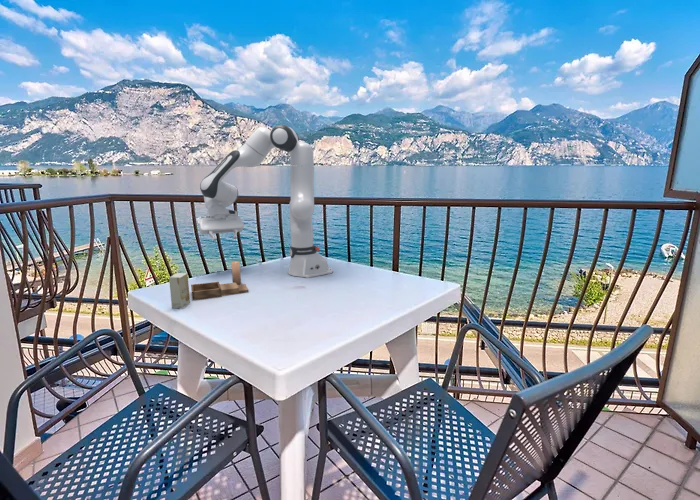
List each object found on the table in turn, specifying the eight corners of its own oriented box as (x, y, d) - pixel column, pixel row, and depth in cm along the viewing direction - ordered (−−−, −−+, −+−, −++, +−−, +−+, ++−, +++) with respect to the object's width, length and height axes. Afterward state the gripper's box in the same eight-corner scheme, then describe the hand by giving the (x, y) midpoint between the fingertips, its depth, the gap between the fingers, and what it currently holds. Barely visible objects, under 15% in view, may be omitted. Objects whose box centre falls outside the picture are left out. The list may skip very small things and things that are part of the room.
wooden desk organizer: (245, 286, 158) (244, 278, 157) (249, 293, 149) (248, 285, 148) (191, 292, 149) (191, 284, 148) (192, 300, 140) (191, 292, 139)
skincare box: (182, 308, 132) (179, 277, 129) (171, 308, 132) (168, 277, 129) (190, 302, 138) (188, 272, 135) (179, 302, 138) (176, 272, 135)
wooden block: (240, 282, 162) (239, 260, 160) (241, 284, 159) (240, 262, 157) (232, 283, 161) (230, 261, 159) (233, 285, 158) (231, 263, 155)
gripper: (196, 212, 163) (202, 237, 158) (240, 211, 175) (247, 233, 169) (195, 221, 168) (201, 244, 162) (237, 218, 180) (244, 241, 174)
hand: (225, 239), depth 166 cm, fingers open, 8 cm apart
